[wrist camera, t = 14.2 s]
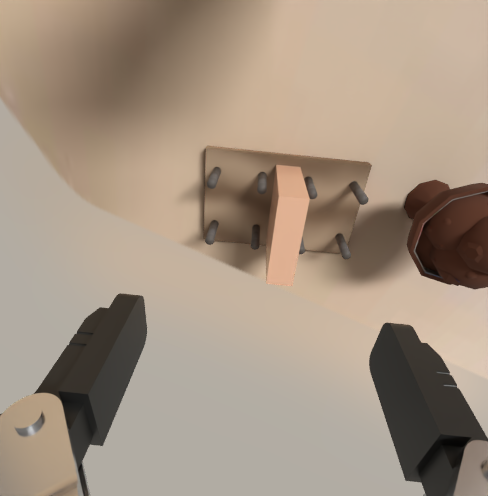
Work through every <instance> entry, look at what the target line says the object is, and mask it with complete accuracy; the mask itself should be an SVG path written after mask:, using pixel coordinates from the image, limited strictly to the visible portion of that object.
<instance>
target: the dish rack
mask: <svg viewBox="0 0 488 496" xmlns="http://www.w3.org/2000/svg"><path fill="white" fill-rule="evenodd" d="M276 165H285V166H295V167H300V168H301V171H302V174H303V178H304V181H305V185H306V188H307V191H308V195H309V198H310V200H309V205H308V210H307V215H306V220H305V225H304V230H303V235H302V240H301V245H300V250H299V254H303V253H304V252H305V250H312V251H322V252H331V253H341V254H342V257H343V258H344V259H348V258H350V257H351V253H350V251H349V248H348V243H349V239H350V236H351V233H352V229H353V226H354V223H355V219H356V216H357V213H358V209H359V206H360V204H361V205H364V204H366V203H367V202H368V197H367V196H366V194H365V193H364V190H365V186H366V183H367V180H368V176H369V173H370V170H371V166H372V165H371V164H370V163H368V162H359V161H349V160H339V159H330V158H320V157H310V156H301V155H291V154H281V153H272V152H262V151H253V150H243V149H233V148H224V147H214V146H207V147H206V161H205V204H204V239H205V242H206V243H207V244H209V245H211V244H213V242H214V240H218V241H227V242H237V243H246V244H251V248H252V249H258V248H259V245H265V246H266V237H267V230H268V222H269V215H270V207H271V200H272V192H273V185H274V177H275V170H276Z"/></svg>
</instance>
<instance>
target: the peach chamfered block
mask: <svg viewBox="0 0 488 496" xmlns="http://www.w3.org/2000/svg"><path fill="white" fill-rule="evenodd" d="M309 200H310V198H309V195H308V191H307V188H306V185H305V181H304V178H303V174H302V171H301V168H300V167H295V166H285V165H276V170H275V177H274V185H273V192H272V200H271V207H270V215H269V222H268V230H267V237H266V283H267V284H276V285H286V286H292V285H293V280H294V275H295V270H296V265H297V260H298V255H299V250H300V245H301V240H302V235H303V230H304V225H305V220H306V215H307V210H308V205H309Z"/></svg>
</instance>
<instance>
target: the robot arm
mask: <svg viewBox="0 0 488 496" xmlns="http://www.w3.org/2000/svg"><path fill="white" fill-rule="evenodd" d="M146 334H147V325H146V315H145V305H144V299H143V296H139V295H129V294H118V295H117V296H116V298H115V299H114V301H113V302H112V304H111V306H110V307H109V308H99V309H97V310H96V311H95V312H94V313H92V314H91V315H90V316H88V317H87V318H86V319H85V320H84V322H83V323H82V325H81V326H80V328H79V329H78V331H77V334H75V335H74V337H73V338H72V340H71V341H70V344H69V345H67V347H66V348H65V350H64V351H63V353H62V354H61V356H60V357H59V359H58V360H57V362H56V363H55V364H54V366H53V367H52V369H51V370H50V372H49V373H48V375H47V376H46V378H45V379H44V381H43V382H42V384H41V385H40V387H39V388H38V389H37V391H36V392H35V393H34V394H32V395H29V396H26V397H24V398H22V399H20V400H18V401H17V402H15V403H14V404H12V405H11V406H10V407H9V408H7V409H6V410H5V411H4V412H3V413H2V414H0V496H90V492H89V488H88V483H87V478H86V474H85V470H84V465H83V461H82V460H83V458H84V456H85V454H86V452H87V449H88V447H89V445H90V444H91V445H100V446H103V443H104V441H105V439H106V436H107V434H108V432H109V429H110V427H111V424H112V422H113V420H114V417H115V415H116V412H117V410H118V407H119V405H120V403H121V400H122V398H123V396H124V393H125V391H126V388H127V386H128V384H129V381H130V379H131V376H132V374H133V372H134V369H135V367H136V364H137V362H138V359H139V357H140V355H141V352H142V350H143V348H144V345H145V341H146ZM369 366H370V372H371V375H372V378H373V381H374V384H375V388H376V391H377V394H378V397H379V400H380V403H381V406H382V409H383V412H384V415H385V418H386V422H387V425H388V428H389V431H390V434H391V437H392V440H393V443H394V446H395V449H396V452H397V455H398V459H399V462H400V465H401V468H402V470H403V474H404V477H405V480H406V481H414V482H422V485H423V488H424V490H425V494H424V495H423V496H488V438H487V437H486V435H485V433H484V431H483V430H482V428H481V426H480V424H479V423H478V421H477V419H476V417H475V416H474V414H473V412H472V410H471V409H470V407H469V405H468V404H467V402H466V400H465V398H464V396H463V395H462V393H461V391H460V390H459V389H458V388H457V384H456V383H455V381H454V379H453V377H452V376H451V375H450V374H449V373H450V372H449V370H448V368H447V367H446V365H445V363H444V361H443V360H442V358H441V357H440V356H439V355H438V354H437V353H436V352H435V351H434V350H433V349H432V348H431V347H430V346H429V345H428V344H427V343H421V341H420V340H419V338H418V336H417V334H416V332H415V330H414V329H413V327H412V326H410V325H404V324H394V323H385V324H384V325H383V326H382V329H381V331H380V333H379V335H378V338H377V340H376V343H375V345H374V347H373V349H372V352H371V355H370V360H369Z"/></svg>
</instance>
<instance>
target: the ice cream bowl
mask: <svg viewBox="0 0 488 496" xmlns="http://www.w3.org/2000/svg"><path fill="white" fill-rule="evenodd" d="M404 208H405V210H406V212H407V214H408V216H409V218H412V219H414V220H413V223H412V227H411V230H410V233H409V236H408V241H407V247H408V250H409V253H410V255H411V257H412V259H413V260H414V262H415V264H416V266H417V268H418V270H419V272H420V274H421V275H422V276H425V277H428V278H431V279H434V280H437V281H440V282H443V283H446V284H449V285H451V284H454V285H457V286H458V285H461V286H465V287H468V288H472V289H479V288H485V287H488V184H484V183H478V184H471V185H467V186H463V187H459V188H454V189H449V186H448V184H445V183H442V182H440V181H437V180H433V181H429V182H425V183H421V184H419V185H418V186H417V187H416V188H415V189H413V190H412V191H411V192H410V193H409V194H408V196H407V199H406V203H405V206H404Z"/></svg>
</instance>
